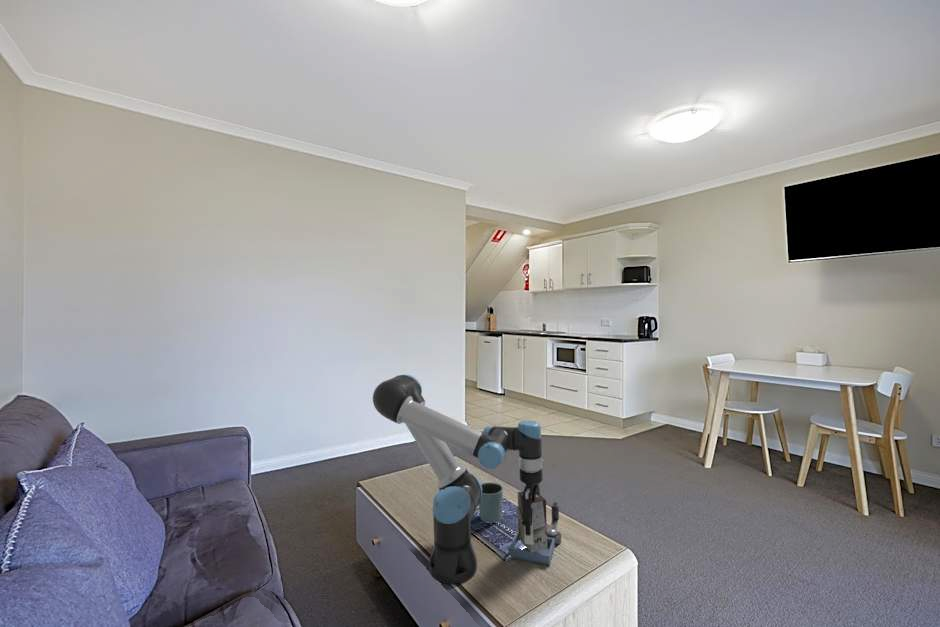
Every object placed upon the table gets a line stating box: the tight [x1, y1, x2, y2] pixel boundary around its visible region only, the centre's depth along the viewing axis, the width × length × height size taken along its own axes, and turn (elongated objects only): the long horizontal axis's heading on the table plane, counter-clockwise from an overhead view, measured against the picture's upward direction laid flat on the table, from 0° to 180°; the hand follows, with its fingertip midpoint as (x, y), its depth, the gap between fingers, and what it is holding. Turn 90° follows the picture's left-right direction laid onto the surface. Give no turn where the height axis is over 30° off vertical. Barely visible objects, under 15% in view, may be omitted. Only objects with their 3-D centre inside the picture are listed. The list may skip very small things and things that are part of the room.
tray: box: [508, 531, 556, 566], centre depth 133 cm, size 10×13×3 cm
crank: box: [547, 501, 560, 537], centre depth 143 cm, size 12×4×6 cm, turn 159°
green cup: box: [478, 482, 504, 524], centre depth 155 cm, size 10×10×12 cm
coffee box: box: [517, 490, 548, 553], centre depth 133 cm, size 9×6×16 cm
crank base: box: [547, 531, 562, 546], centre depth 141 cm, size 6×15×2 cm, turn 69°
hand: (532, 534), depth 133 cm, fingers closed on coffee box, 11 cm apart
